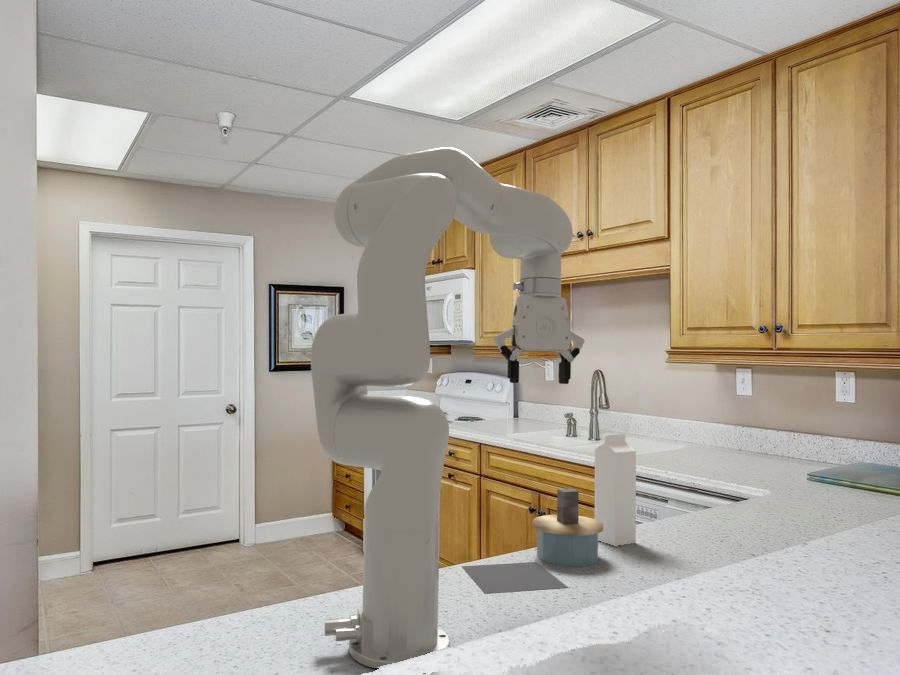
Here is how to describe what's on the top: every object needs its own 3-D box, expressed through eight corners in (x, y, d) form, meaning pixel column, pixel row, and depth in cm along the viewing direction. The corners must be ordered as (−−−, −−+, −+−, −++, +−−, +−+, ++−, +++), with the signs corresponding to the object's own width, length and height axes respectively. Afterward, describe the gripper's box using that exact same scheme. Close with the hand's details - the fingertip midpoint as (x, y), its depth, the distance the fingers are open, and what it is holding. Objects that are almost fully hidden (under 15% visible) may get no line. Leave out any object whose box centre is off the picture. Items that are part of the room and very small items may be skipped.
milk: (635, 543, 134) (637, 435, 135) (614, 547, 131) (616, 436, 132) (613, 536, 139) (615, 432, 140) (593, 539, 136) (594, 433, 137)
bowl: (551, 570, 115) (551, 535, 115) (529, 552, 126) (529, 521, 126) (608, 566, 118) (608, 532, 118) (581, 549, 128) (582, 518, 129)
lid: (548, 537, 114) (548, 498, 114) (522, 520, 127) (523, 484, 127) (615, 534, 117) (616, 495, 117) (584, 517, 130) (584, 483, 130)
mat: (484, 596, 101) (484, 593, 101) (461, 569, 115) (461, 566, 115) (568, 590, 104) (568, 587, 105) (536, 564, 118) (536, 561, 118)
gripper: (502, 285, 115) (500, 383, 114) (592, 290, 119) (591, 384, 118) (489, 290, 122) (488, 382, 121) (575, 295, 126) (574, 383, 125)
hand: (539, 383), depth 120 cm, fingers open, 9 cm apart
